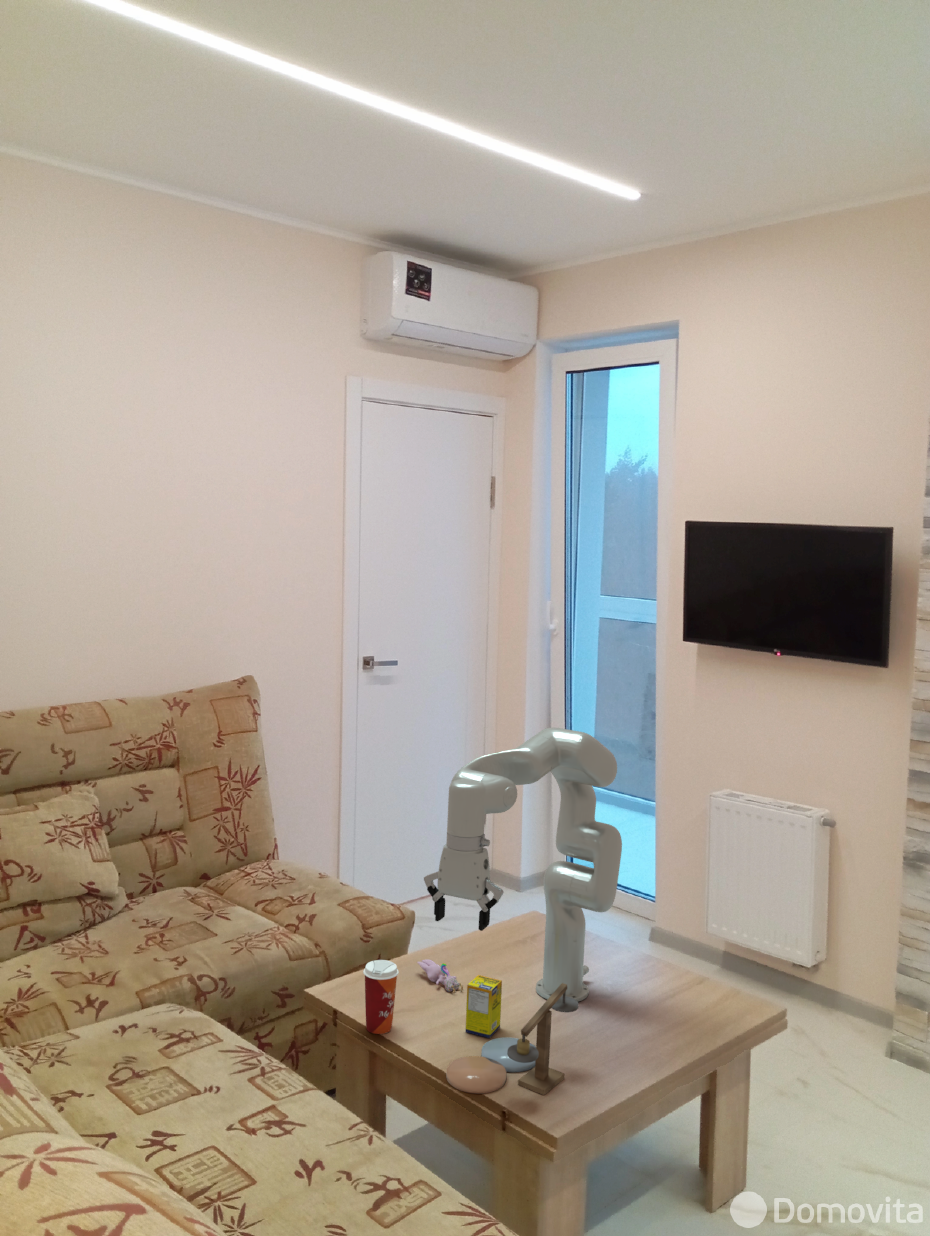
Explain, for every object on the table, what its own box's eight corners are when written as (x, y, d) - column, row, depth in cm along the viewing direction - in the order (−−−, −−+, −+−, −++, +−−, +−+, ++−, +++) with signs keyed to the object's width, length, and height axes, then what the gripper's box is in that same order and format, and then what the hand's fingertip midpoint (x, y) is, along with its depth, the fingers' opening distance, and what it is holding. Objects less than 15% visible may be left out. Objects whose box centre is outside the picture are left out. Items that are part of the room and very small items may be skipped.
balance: (555, 1055, 211) (559, 974, 209) (580, 1065, 207) (584, 982, 206) (499, 1099, 193) (503, 1011, 192) (525, 1110, 190) (530, 1020, 189)
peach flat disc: (468, 1055, 209) (469, 1050, 209) (517, 1075, 202) (517, 1069, 202) (434, 1079, 199) (434, 1073, 199) (484, 1100, 193) (484, 1094, 192)
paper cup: (391, 1038, 215) (393, 975, 214) (356, 1033, 216) (358, 971, 215) (400, 1022, 222) (403, 961, 221) (367, 1017, 224) (369, 956, 223)
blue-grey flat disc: (501, 1037, 218) (502, 1031, 218) (549, 1055, 211) (549, 1049, 211) (470, 1059, 208) (470, 1053, 208) (519, 1078, 201) (519, 1073, 201)
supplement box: (500, 1027, 222) (502, 979, 221) (489, 1039, 217) (492, 990, 216) (476, 1021, 224) (478, 973, 224) (464, 1032, 219) (466, 984, 218)
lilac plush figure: (467, 995, 240) (428, 964, 251) (471, 973, 239) (431, 942, 250) (447, 1002, 236) (408, 970, 247) (451, 979, 235) (412, 948, 246)
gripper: (511, 843, 202) (507, 926, 204) (434, 830, 210) (431, 910, 211) (497, 853, 196) (493, 938, 197) (418, 839, 203) (415, 921, 204)
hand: (461, 923), depth 204 cm, fingers open, 9 cm apart
